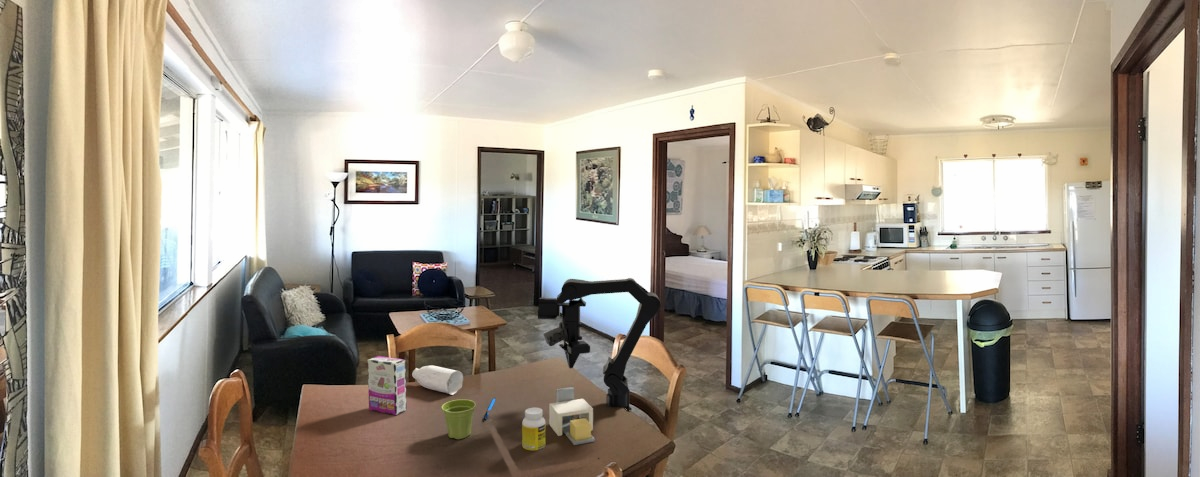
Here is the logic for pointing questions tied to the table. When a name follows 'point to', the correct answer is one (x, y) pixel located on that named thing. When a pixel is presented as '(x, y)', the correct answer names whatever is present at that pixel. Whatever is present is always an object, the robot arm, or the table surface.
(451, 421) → the plant pot
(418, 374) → the white plastic bottle
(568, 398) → the bracket
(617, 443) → the table surface
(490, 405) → the pen
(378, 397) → the candy bar box
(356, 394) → the table surface
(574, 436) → the block
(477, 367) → the table surface
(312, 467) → the table surface
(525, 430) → the pill bottle
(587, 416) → the tunnel
